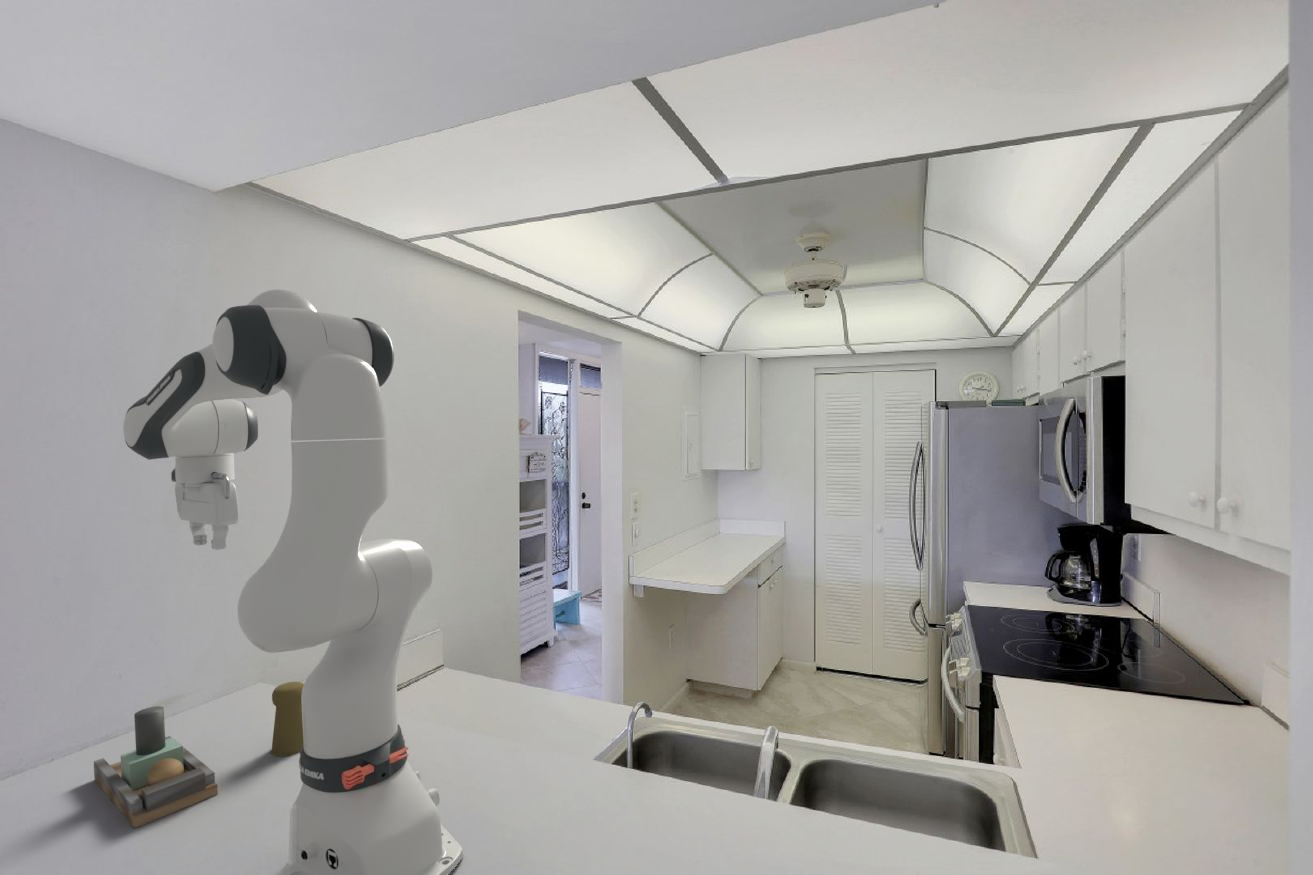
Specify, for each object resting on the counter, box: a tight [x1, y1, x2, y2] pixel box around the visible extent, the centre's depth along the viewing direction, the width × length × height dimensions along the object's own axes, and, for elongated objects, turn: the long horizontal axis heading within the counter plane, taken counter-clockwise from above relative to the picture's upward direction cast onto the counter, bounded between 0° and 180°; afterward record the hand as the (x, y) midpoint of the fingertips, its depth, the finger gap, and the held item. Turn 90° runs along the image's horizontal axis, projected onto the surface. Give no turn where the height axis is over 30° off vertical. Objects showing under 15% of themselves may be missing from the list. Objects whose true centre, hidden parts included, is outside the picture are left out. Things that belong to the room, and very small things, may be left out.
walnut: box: [147, 758, 184, 786], centre depth 95 cm, size 4×4×4 cm
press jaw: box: [120, 705, 184, 790], centre depth 99 cm, size 5×7×10 cm
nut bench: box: [93, 735, 219, 829], centre depth 99 cm, size 22×10×4 cm, turn 52°
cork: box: [271, 681, 304, 757], centre depth 110 cm, size 6×6×11 cm
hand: (209, 546), depth 117 cm, fingers open, 8 cm apart
